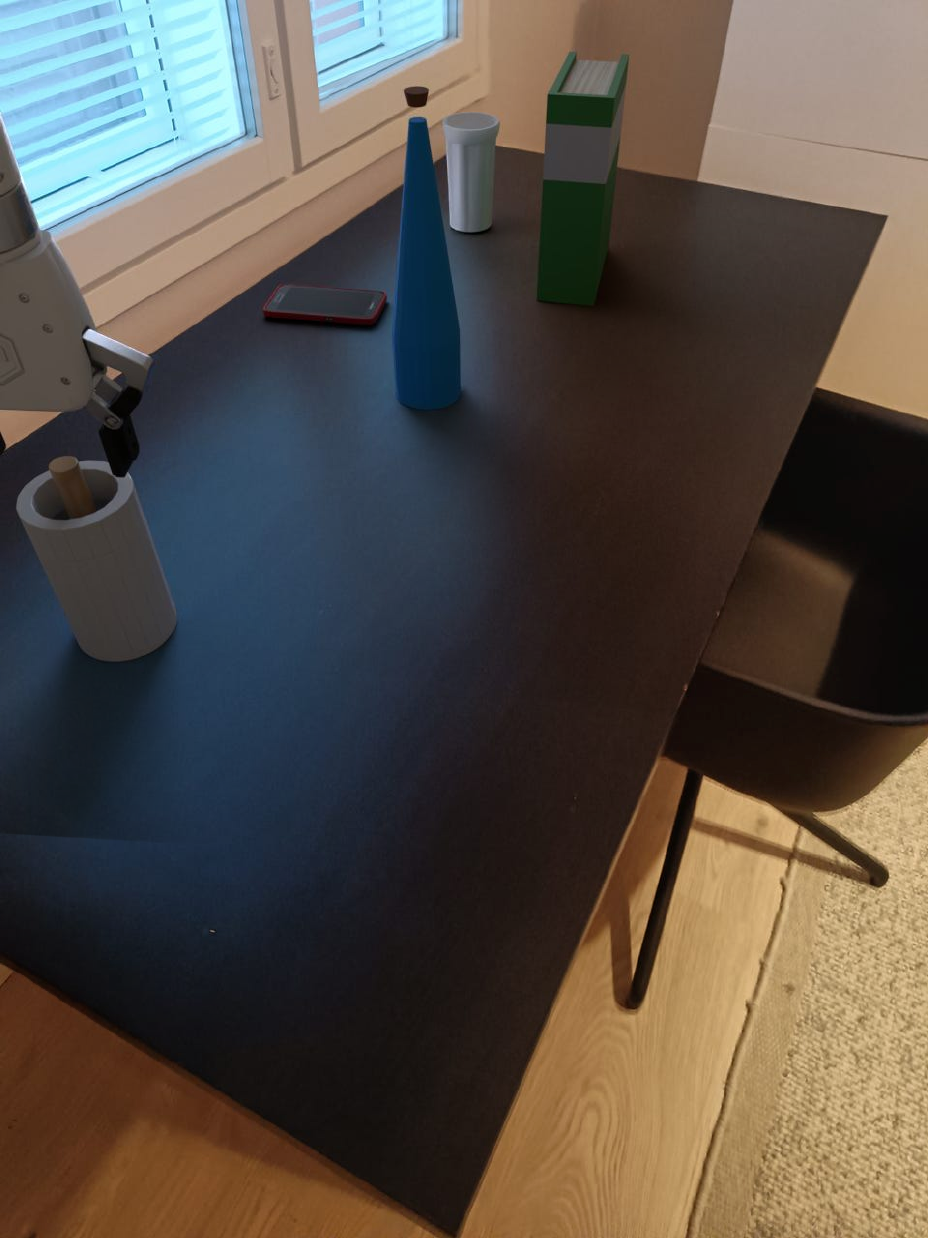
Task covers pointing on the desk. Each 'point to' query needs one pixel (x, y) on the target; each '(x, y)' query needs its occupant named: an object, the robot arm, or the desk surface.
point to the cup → (470, 168)
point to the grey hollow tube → (101, 564)
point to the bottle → (424, 282)
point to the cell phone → (325, 304)
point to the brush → (72, 487)
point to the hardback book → (579, 177)
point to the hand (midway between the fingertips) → (59, 462)
